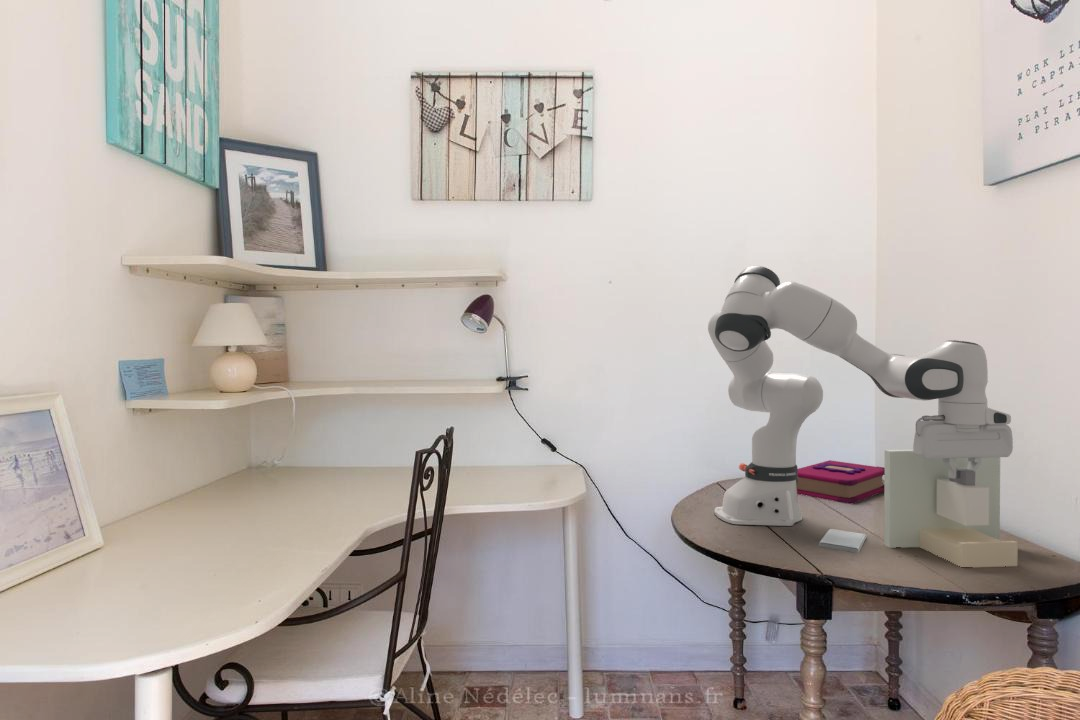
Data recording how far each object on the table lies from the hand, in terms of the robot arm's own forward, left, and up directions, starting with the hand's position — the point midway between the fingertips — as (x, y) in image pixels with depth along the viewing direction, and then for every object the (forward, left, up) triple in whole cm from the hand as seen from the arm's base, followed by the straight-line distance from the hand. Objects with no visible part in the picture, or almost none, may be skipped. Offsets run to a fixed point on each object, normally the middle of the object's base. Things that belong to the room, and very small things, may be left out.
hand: (961, 477), depth 134 cm
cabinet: (0, 0, -9) cm, 9 cm away
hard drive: (-21, +10, -18) cm, 29 cm away
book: (+5, +59, -18) cm, 62 cm away
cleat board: (0, -1, -17) cm, 17 cm away
